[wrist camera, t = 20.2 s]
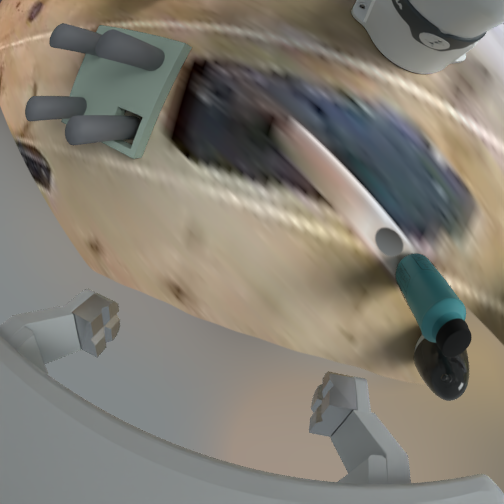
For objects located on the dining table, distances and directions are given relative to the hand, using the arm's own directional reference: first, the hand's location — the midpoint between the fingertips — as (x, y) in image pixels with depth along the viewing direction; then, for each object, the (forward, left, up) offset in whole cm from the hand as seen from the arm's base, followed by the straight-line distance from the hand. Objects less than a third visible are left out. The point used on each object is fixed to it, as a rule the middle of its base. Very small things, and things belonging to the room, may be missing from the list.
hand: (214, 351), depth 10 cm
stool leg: (-5, -28, -34) cm, 44 cm away
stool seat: (-12, -32, -34) cm, 48 cm away
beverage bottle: (+6, +22, -34) cm, 41 cm away
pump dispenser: (+18, +34, -34) cm, 52 cm away
